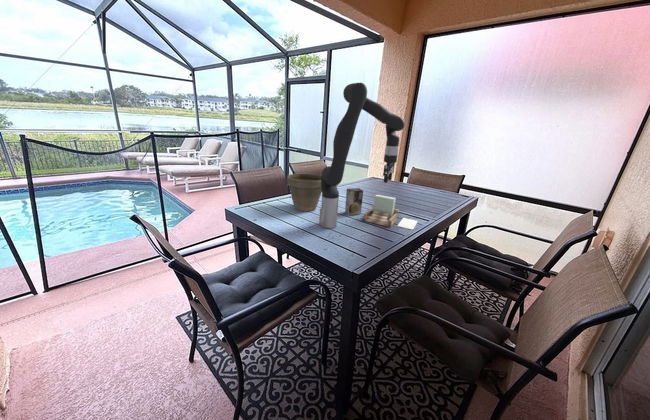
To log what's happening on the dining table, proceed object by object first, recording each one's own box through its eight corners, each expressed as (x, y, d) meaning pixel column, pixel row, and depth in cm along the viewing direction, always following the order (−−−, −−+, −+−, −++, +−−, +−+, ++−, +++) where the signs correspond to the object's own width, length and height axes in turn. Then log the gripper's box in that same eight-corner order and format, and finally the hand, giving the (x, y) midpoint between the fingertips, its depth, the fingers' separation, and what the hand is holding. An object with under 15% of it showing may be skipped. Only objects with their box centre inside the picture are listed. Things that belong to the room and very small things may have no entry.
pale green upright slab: (372, 216, 161) (375, 195, 156) (374, 215, 164) (377, 194, 159) (390, 221, 155) (394, 199, 151) (392, 219, 158) (395, 197, 154)
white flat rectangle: (397, 226, 147) (397, 225, 147) (403, 218, 161) (403, 217, 160) (412, 230, 143) (412, 229, 143) (417, 221, 157) (418, 221, 156)
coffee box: (357, 211, 169) (359, 187, 164) (361, 214, 164) (363, 190, 158) (344, 211, 167) (346, 188, 161) (348, 215, 161) (350, 190, 155)
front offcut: (370, 220, 154) (371, 214, 153) (372, 219, 156) (373, 213, 155) (384, 224, 150) (385, 218, 148) (386, 223, 152) (387, 216, 151)
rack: (363, 220, 153) (364, 211, 151) (372, 212, 167) (373, 204, 165) (390, 227, 146) (391, 217, 144) (397, 218, 160) (399, 209, 158)
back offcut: (372, 219, 157) (373, 211, 155) (374, 217, 159) (375, 210, 157) (386, 222, 153) (387, 214, 151) (388, 221, 155) (389, 213, 153)
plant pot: (308, 200, 186) (309, 171, 179) (331, 209, 169) (333, 178, 162) (279, 206, 170) (279, 174, 163) (302, 217, 153) (302, 182, 146)
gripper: (388, 152, 154) (384, 178, 159) (381, 154, 142) (377, 182, 147) (400, 153, 150) (396, 180, 156) (394, 155, 139) (390, 184, 144)
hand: (387, 181), depth 152 cm, fingers open, 8 cm apart
